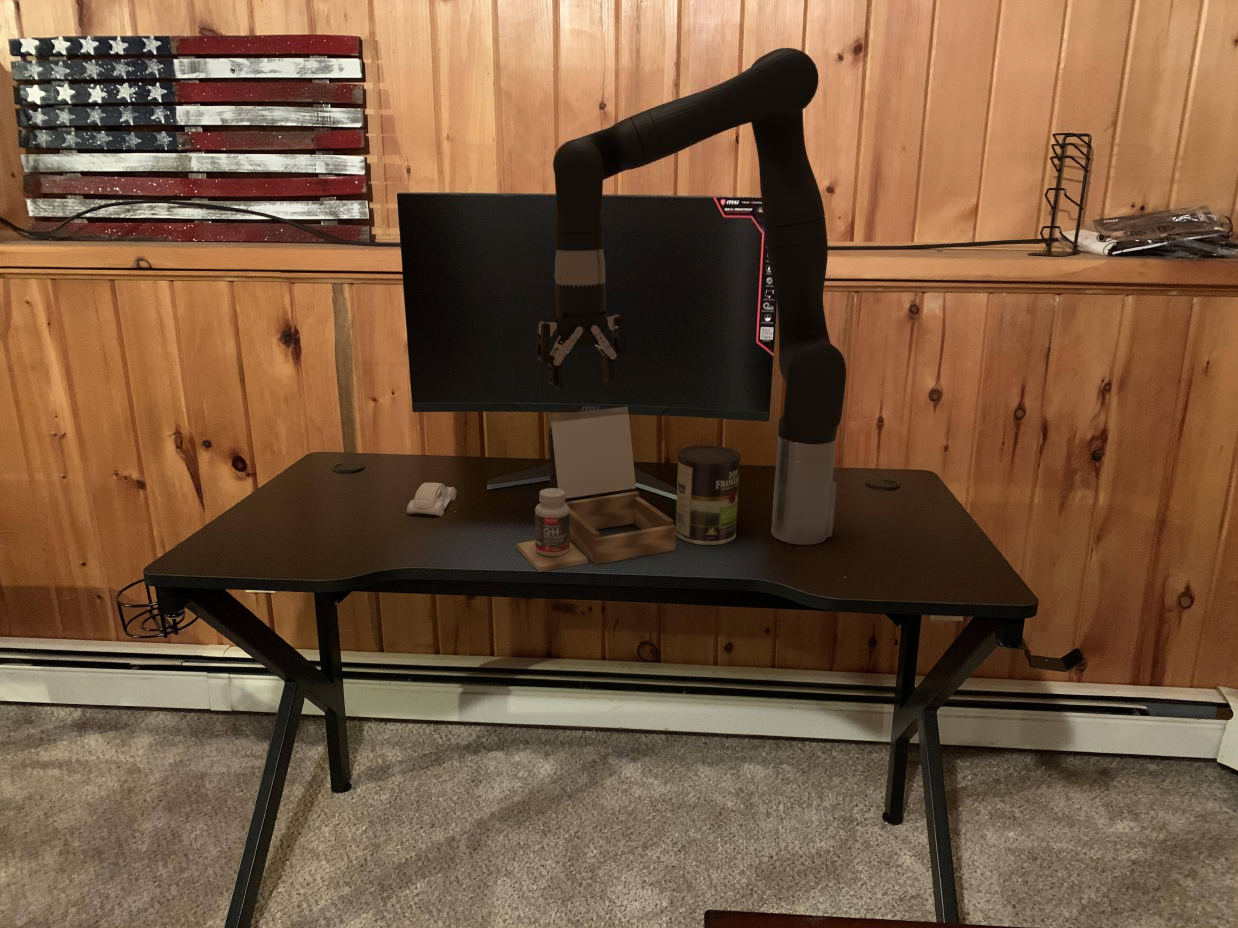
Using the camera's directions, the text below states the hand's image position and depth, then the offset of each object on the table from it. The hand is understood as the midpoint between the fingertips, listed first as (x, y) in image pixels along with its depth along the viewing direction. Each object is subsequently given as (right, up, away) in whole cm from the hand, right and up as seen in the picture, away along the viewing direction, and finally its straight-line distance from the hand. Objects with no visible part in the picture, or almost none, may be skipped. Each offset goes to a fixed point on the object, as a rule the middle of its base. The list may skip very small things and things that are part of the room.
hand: (582, 385), depth 144 cm
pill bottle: (-5, -26, +1) cm, 27 cm away
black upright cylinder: (-3, -20, +24) cm, 31 cm away
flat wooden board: (-5, -27, +2) cm, 27 cm away
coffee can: (+20, -24, +11) cm, 33 cm away
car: (-28, -20, +22) cm, 41 cm away
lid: (+2, -10, +11) cm, 15 cm away
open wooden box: (+5, -25, +7) cm, 26 cm away
